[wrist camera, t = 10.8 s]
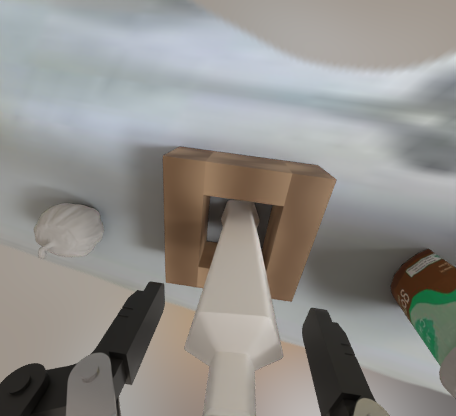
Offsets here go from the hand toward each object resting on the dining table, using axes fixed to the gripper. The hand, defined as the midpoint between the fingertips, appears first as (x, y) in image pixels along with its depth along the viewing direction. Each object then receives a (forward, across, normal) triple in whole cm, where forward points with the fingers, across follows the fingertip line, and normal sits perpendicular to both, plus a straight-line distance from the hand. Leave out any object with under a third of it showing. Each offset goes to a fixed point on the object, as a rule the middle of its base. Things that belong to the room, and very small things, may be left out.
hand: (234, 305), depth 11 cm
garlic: (+10, +16, +3) cm, 19 cm away
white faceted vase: (+10, 0, 0) cm, 10 cm away
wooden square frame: (+10, 0, 0) cm, 10 cm away
